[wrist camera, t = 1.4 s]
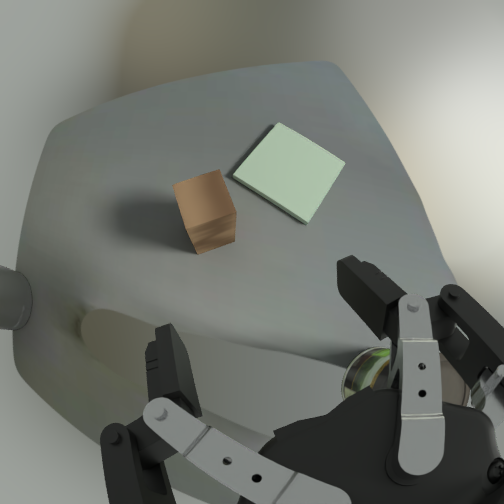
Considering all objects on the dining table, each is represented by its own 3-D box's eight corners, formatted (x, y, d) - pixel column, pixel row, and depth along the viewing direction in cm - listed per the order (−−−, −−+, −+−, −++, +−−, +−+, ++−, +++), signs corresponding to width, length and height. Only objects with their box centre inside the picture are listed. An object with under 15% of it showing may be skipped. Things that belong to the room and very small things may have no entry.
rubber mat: (232, 178, 39) (233, 174, 38) (277, 126, 42) (278, 122, 41) (306, 225, 38) (308, 222, 37) (343, 166, 41) (345, 163, 40)
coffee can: (343, 347, 34) (404, 356, 20) (406, 345, 35) (475, 347, 21) (335, 420, 32) (386, 461, 18) (398, 412, 32) (461, 437, 18)
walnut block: (197, 254, 36) (186, 229, 26) (186, 219, 37) (172, 184, 27) (234, 241, 36) (236, 212, 27) (221, 207, 37) (219, 169, 28)
